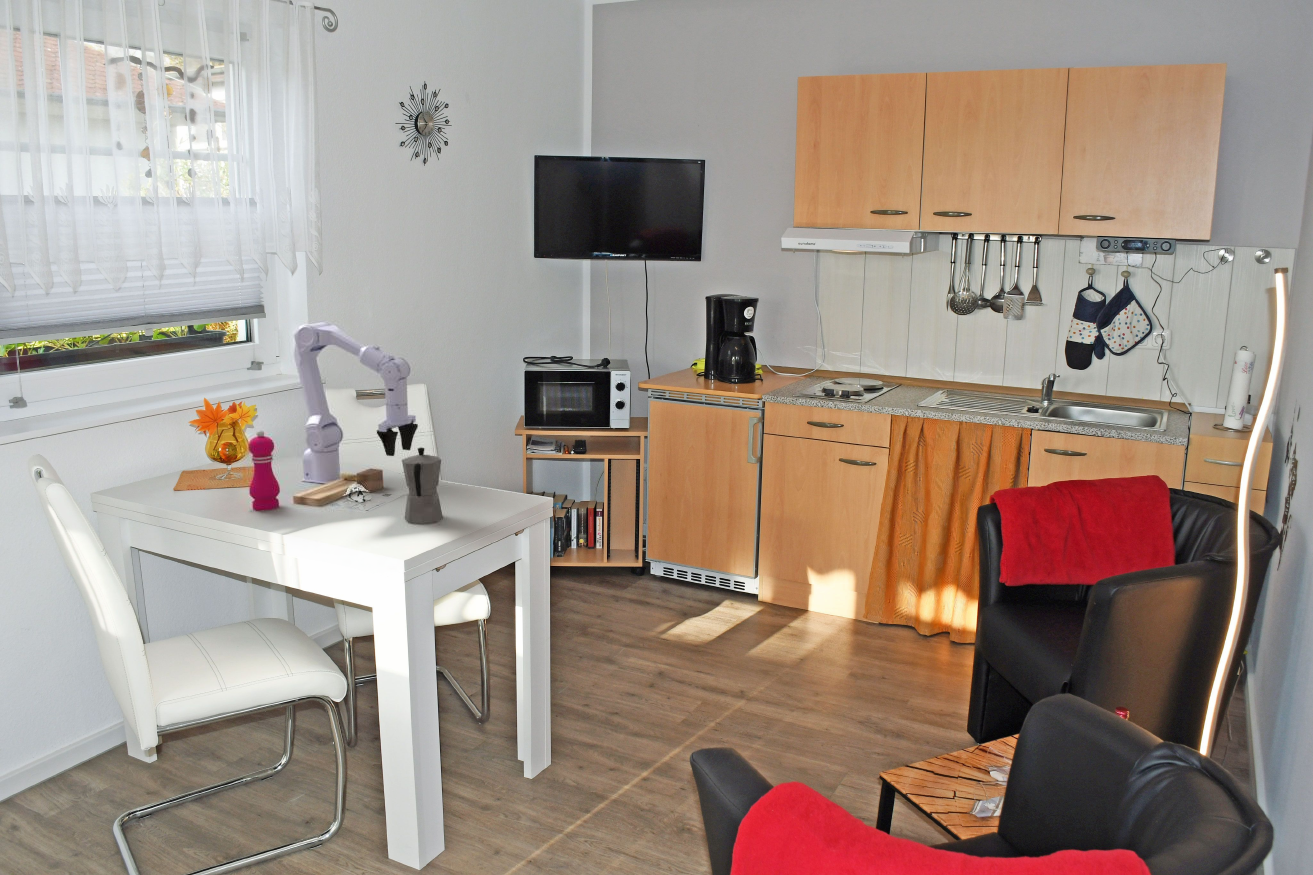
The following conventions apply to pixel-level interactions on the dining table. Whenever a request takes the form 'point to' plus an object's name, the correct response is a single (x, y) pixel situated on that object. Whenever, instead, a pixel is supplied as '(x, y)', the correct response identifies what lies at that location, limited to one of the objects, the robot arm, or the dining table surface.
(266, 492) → the pepper mill
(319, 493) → the board
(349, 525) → the dining table surface
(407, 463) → the coffeepot
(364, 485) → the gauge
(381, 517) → the dining table surface
